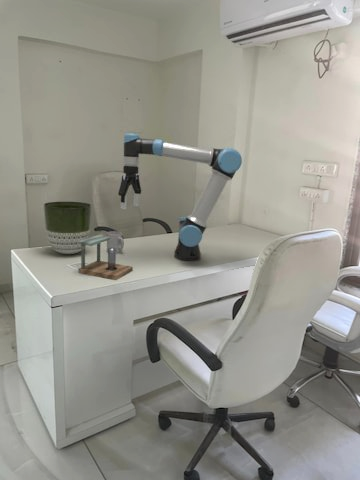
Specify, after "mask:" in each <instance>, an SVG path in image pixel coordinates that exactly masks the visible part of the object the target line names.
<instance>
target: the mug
mask: <svg viewBox="0 0 360 480" xmlns="http://www.w3.org/2000/svg"><path fill="white" fill-rule="evenodd" d="M106 236H107V237H110V240H107V241H106V252H107V253H108V248H111V247H112V248H116V254H121V253H122V250H123V249H124V247H125V246H124V245H125V241H124V238H123V232H121V231H108V232H106Z"/></svg>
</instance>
